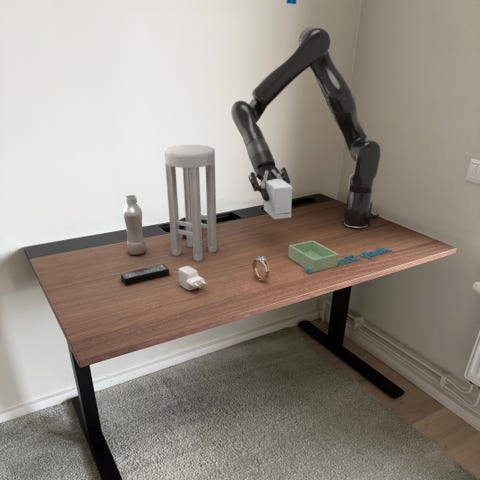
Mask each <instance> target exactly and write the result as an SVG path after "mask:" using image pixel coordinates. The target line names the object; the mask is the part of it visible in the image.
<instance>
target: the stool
mask: <svg viewBox="0 0 480 480" xmlns="http://www.w3.org/2000/svg"><path fill="white" fill-rule="evenodd" d="M163 153H164V167H165V179H166V180H165V181H166V192H167V194H166V195H167V205H168V218H169V219H168V220H169V221H168V222H169V232H170V246H171V255H172V256H176V257H178V256H180V255H181V254H182V248H181V247H182V246H181V235H182V236H183V235H187V238H186V247H189V248H192V253H193V254H192V255H193V261H195V262H200V261H202V260H203V259H204V257H203V255H204V254H203V230H202V229H207V252H209V253H215V252H216V251H218V242H217V241H218V240H217V238H218V235H217V233H218V232H217V227H216V226H217V196H216V195H217V193H216V154H215V153H216V150H215V148H214V147H211V146H209V145H202V144H180V145H172V146H169V147H167V148H165V150H164V152H163ZM203 167H205V168H204V169H205V193H206V194H205V196H206V215H205V214H202V207H201V206H202V204H201V203H202V202H201V201H202V200H201V179H200V168H203ZM176 168H180V169H182V181H183V182H182V183H183V199H184V215H185V217H184V218H186V222H184V221H179V220H180V216H179V214H180V213H179V201H178V187H177V186H178V183H177V169H176ZM201 219H204V220H207V224H206V223H204V222H202V221H201ZM180 226H181V227H185V226H186V231H185V230H184V229H180Z"/></svg>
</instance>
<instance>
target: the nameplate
mask: <svg viewBox="0 0 480 480" xmlns="http://www.w3.org/2000/svg"><path fill="white" fill-rule="evenodd" d="M386 252H388V253H391V252H392V250H391V249H389V248H386V247H385V248H384V247H379V249H376V250H373V251H368V252H367V251H365V250H364V251H363V254H361V253H359V255H358V256H359V257H358V258H357V255H355V254H350V255H347V256H345V257H344V258H340V259H338V266H342V265H343V264H345V265H347V264H351V263H354V262H357V261H358V262H359V261H361V260H362V259H361V258H364V259H369V260H371V259H372V258H373V257H375V256H380V255H383V254H386ZM332 268H334V267H332ZM332 268H330V267H329V268H328V269H327V270H329V269H332ZM324 270H325V269H324V268H323V270H322V271H324ZM304 272H305V273H307V274H308V275H309V274H312V273H314V272H313V270H311V269H309V268H305V269H304ZM316 272H320V271H319V269H318V270H317V271H316Z"/></svg>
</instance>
